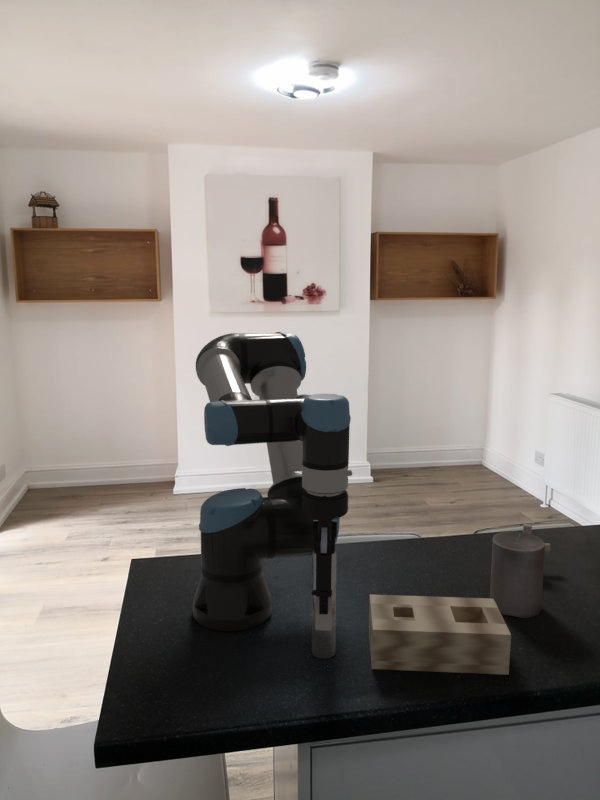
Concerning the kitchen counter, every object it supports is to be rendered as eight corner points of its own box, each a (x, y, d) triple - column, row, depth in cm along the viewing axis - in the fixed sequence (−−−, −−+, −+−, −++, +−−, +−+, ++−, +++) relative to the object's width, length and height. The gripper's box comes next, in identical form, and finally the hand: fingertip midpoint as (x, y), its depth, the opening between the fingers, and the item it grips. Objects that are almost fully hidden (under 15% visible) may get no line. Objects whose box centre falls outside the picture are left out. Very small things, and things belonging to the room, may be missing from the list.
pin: (311, 658, 106) (311, 557, 103) (312, 644, 110) (312, 547, 107) (335, 659, 105) (336, 558, 102) (335, 645, 109) (336, 548, 106)
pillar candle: (518, 591, 130) (521, 522, 127) (552, 613, 121) (557, 539, 118) (479, 599, 127) (481, 529, 124) (511, 623, 118) (515, 547, 115)
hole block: (371, 668, 103) (372, 629, 102) (368, 630, 115) (369, 594, 114) (508, 674, 102) (511, 634, 100) (491, 634, 113) (493, 598, 112)
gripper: (348, 507, 94) (346, 651, 98) (347, 474, 111) (345, 598, 115) (298, 506, 94) (298, 649, 98) (305, 473, 111) (304, 596, 115)
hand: (323, 621), depth 107 cm, fingers closed on pin, 4 cm apart
